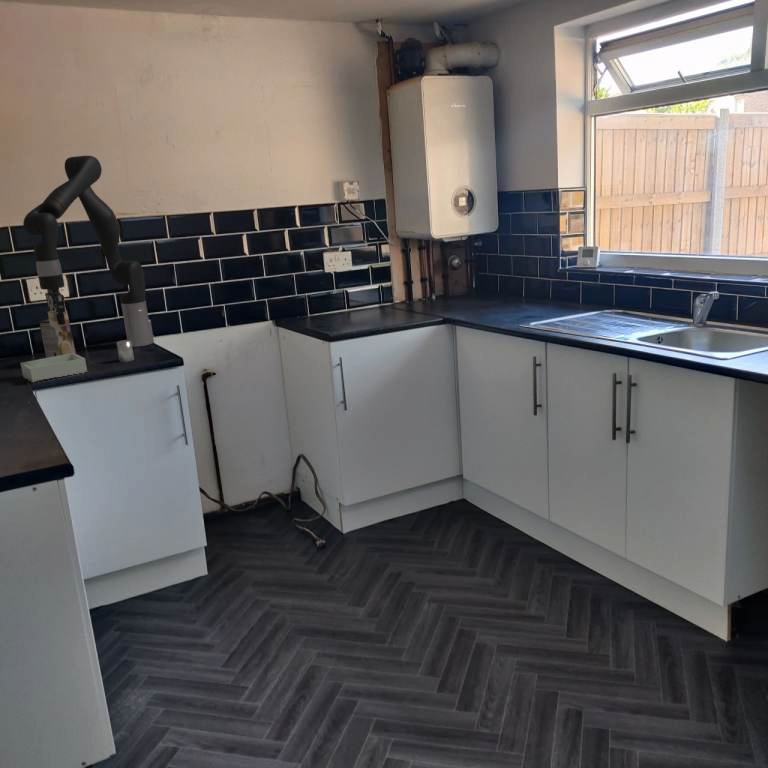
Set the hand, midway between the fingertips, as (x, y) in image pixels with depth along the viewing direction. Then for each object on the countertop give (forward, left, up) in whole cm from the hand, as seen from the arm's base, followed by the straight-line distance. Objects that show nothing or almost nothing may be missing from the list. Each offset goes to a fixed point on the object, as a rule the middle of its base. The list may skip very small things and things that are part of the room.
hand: (59, 323), depth 248 cm
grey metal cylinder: (-21, 0, -17) cm, 27 cm away
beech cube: (0, 0, -1) cm, 1 cm away
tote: (+4, 0, -17) cm, 18 cm away
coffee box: (-4, -21, -17) cm, 27 cm away
